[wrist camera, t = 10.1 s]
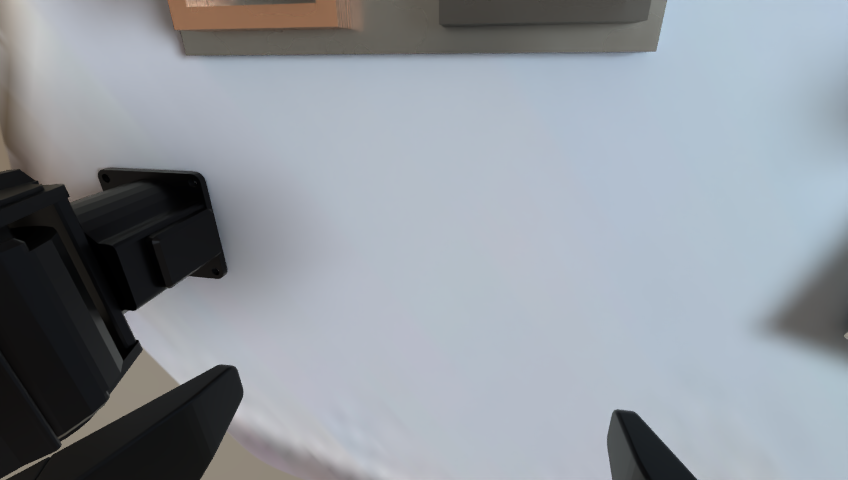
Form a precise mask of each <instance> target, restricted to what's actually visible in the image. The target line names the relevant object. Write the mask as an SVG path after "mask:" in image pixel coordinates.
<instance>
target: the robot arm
mask: <svg viewBox="0 0 848 480" xmlns="http://www.w3.org/2000/svg"><path fill="white" fill-rule="evenodd" d="M98 178H99V181H100V183H101V186H102V189H103V192H100V193H97V194H94V195H91V196H88V197H85V198H82V199H79V200H76V201H73V202H69V200H68V197H70V196H69V194H68V192H67V190H66V188H65V185H64V184H55V185H42V184H39V182H38V181H35V180H33V179H32V178H31V177H29V176H28V175H27V174H25V173H24V172H22V171H21V170H20V169H17V170H6V171H3V172H0V479H1V478H3V477H4V476H6V475H8V474H9V473H11V472H13V471H15V470H17V469H18V468H20V467H22V466H24V465H26V464H28V463H31V462H33V461H35V460H37V459H39V458H42V457H44V456H46V455H48V454H51V453H53V452H55V451H56V450H58V449H59V448H60V447H61V445H62V444H61V441H62V440H64V439H66V438H67V437H69V436H70V435H71V434H73V433H74V432H76V431H77V430H78V429H80V428H81V427H82V426H83V425H84V424H85V423H87V422H88V421H89V420H90V419H91V418H92V417H93V415H94V414H95V413H96V412H97V411H98V410H99V409H100V408H101V407H103V406H104V405H105V403H106V402H107V400H108V399H109V397H110V393H111V392H112V391H113V389H114V388H115V387H116V385H117V384H118V383H119V381H120V380H121V378H122V377H123V376H124V374H125V373H126V372H127V371H128V369H129V368H130V366H131V365H132V364H133V362H134V361H135V360H136V358H137V357H138V355H139V354H140V353H141V352H142V350H143V349H142V347H141V345H140V343H139V341H138V340H136V339H135V337H134V335H133V333H132V331H131V329H130V327H129V325H128V323H127V321H126V319H125V316H124V313H126V312H127V311H129V310H131V311H135V310H137V309H138V308H140V307H141V306H143V305H144V304H146V303H147V302H148V301H150V300H151V299H153V298H154V297H156V296H157V295H159V294H160V293H161V292H163V291H164V290H166V289H167V288H172V287H173V286H175V285H176V284H178V283H179V282H180V281H182V280H183V279H185V278H186V277H188V276H194V277H204V278H215V279H220V278H222V277H223V276H224V275H225V274H226V273H227V266H226V262H225V258H224V254H223V250H222V246H221V242H220V238H219V233H218V229H217V225H216V221H215V217H214V213H213V209H212V205H211V201H210V197H209V193H208V188H207V184H206V181H205V178H204V177H203V176H202V175H201V174H200V173H198V172H188V171H166V170H145V169H123V168H106V169H103V170H100V171H99V172H98ZM193 179H194V180H195V181H196V182H197V185H196V184H195V183H194V181H193ZM216 268H217V269H218V270H219V271H218V270H217V269H216ZM242 397H243V387H242V383H241V380H240V377H239V373H238V370H237V368H236V367H235V366H231V365H217V366H215V367H213V368H212V369H210V370H208V371H206V372H204V373H202V374H200V375H199V376H197V377H195V378H193V379H191V380H189V381H188V382H186V383H184V384H182V385H180V386H178V387H177V388H175V389H173V390H171V391H169V392H167V393H165V394H164V395H162V396H160V397H158V398H156V399H154V400H153V401H151V402H149V403H147V404H145V405H143V406H142V407H140V408H138V409H136V410H134V411H132V412H131V413H129V414H127V415H125V416H123V417H121V418H120V419H118V420H116V421H114V422H112V423H110V424H108V425H107V426H105V427H103V428H101V429H99V430H98V431H95V432H94V433H92V434H90V435H88V436H86V437H85V438H83V439H81V440H79V441H77V442H75V443H73V444H72V445H70V446H68V447H66V448H64V449H62V450H61V451H59V452H57V453H55V454H53V455H52V456H51V457H48V458H46V459H44V460H42V461H40V462H38V463H37V464H35V465H33V466H31V467H29V468H27V469H25V470H24V471H22V472H20V473H18V474H16V475H14V476H12V477H10V478H8V479H6V480H200V479H201V477H202V476H203V474H204V472H205V470H206V469H207V467H208V465H209V464H210V462H211V460H212V459H213V457H214V455H215V453H216V451H217V449H218V447H219V445H220V443H221V441H222V439H223V437H224V435H225V433H226V431H227V429H228V427H229V425H230V423H231V421H232V419H233V417H234V415H235V413H236V411H237V409H238V406H239V404H240V402H241V400H242ZM607 448H608V454H609V461H610V468H611V474H612V480H697V479H696V478H695V477H694V475H693V474H692V473H691V472H690V471H689V470H688V469H687V468H686V467H685V466H684V465H683V463H682V462H681V461H680V460H679V459H678V458H677V457H676V456H675V455H674V454H673V452H672V451H671V450H670V449H669V448H668V447H667V446H666V445H665V444H664V443H663V442H662V440H661V439H660V438H659V437H658V436H657V435H656V434H655V433H654V432H653V431H652V430H651V428H650V427H649V426H648V425H647V424H646V423H645V422H644V421H643V420H642V419H641V417H640V416H639V415H638V414H637V413H635V412H633V411H627V410H618V409H617V410H614V411H613V413H612V417H611V421H610V426H609V431H608V435H607Z"/></svg>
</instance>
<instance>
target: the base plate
mask: <svg viewBox="0 0 848 480" xmlns="http://www.w3.org/2000/svg"><path fill="white" fill-rule="evenodd" d="M666 3H667V0H168V4H169V8H170V13H171V17H172V21H173V25H174V29H175V30H180V31H181V36H182V40H183V44H184V49H185V53H186V55H313V54H433V53H553V52H656V49H657V45H658V40H659V35H660V31H661V26H662V21H663V17H664V12H665V7H666Z"/></svg>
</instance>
